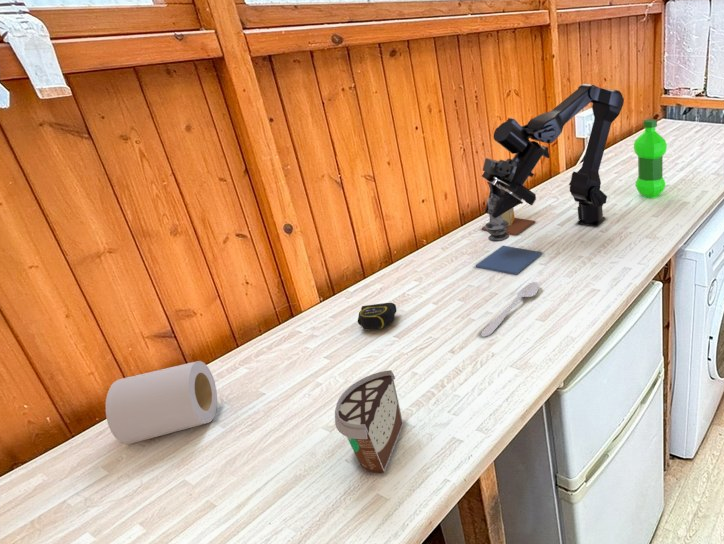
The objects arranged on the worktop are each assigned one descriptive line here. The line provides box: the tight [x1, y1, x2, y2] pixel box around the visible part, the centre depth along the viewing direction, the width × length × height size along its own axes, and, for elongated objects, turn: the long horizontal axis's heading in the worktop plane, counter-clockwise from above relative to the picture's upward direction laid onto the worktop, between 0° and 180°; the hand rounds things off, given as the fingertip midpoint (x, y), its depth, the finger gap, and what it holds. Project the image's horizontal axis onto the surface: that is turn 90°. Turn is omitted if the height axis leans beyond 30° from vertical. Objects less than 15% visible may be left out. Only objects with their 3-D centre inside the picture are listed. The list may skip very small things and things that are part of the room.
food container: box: [334, 369, 404, 474], centre depth 76 cm, size 12×6×10 cm, turn 5°
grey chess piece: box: [484, 194, 510, 243], centre depth 130 cm, size 6×6×12 cm
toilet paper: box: [105, 360, 218, 445], centre depth 82 cm, size 10×10×10 cm
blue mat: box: [475, 245, 542, 276], centre depth 133 cm, size 12×12×1 cm
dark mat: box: [481, 217, 536, 236], centre depth 154 cm, size 12×10×1 cm
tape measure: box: [357, 302, 397, 331], centre depth 108 cm, size 7×7×4 cm
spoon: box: [480, 281, 540, 338], centre depth 111 cm, size 4×21×2 cm, turn 157°
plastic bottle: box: [633, 118, 668, 199], centre depth 169 cm, size 10×10×25 cm
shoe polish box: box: [488, 187, 516, 225], centre depth 153 cm, size 5×5×12 cm
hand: (490, 215), depth 129 cm, fingers closed on grey chess piece, 3 cm apart
